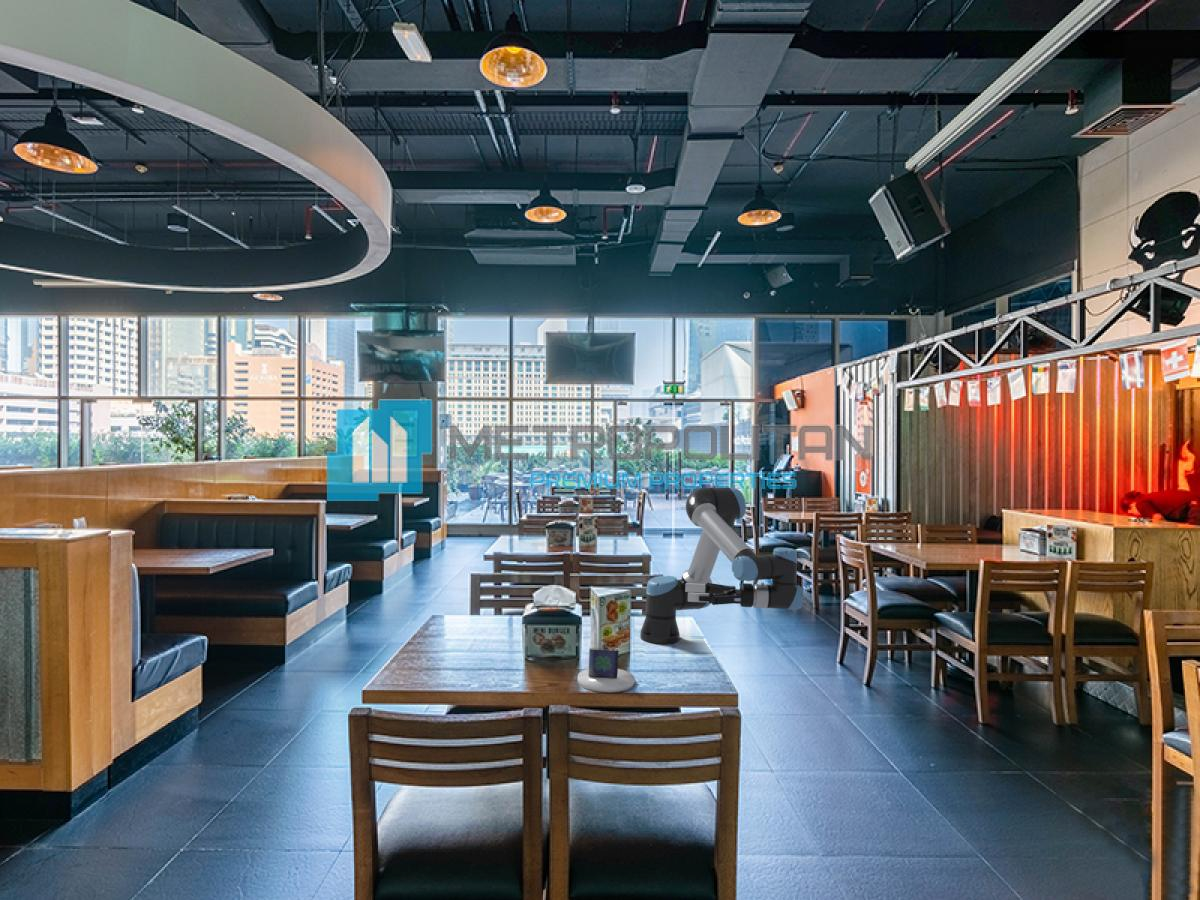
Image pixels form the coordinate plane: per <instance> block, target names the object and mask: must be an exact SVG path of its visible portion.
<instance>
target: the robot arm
mask: <svg viewBox="0 0 1200 900" xmlns="http://www.w3.org/2000/svg"><path fill="white" fill-rule="evenodd" d="M746 510H747V503H746V499H745V496H744V494H743V493H742V491H741V490H739V489H738V488H736V487H730V486H726V487H706V486H705V487H699V488H697V489H695V490H693V491H692V492H690V494H689V495H688V496H687V498H686V501H685V512H686V514H687V517H688V519H689V520H690V521H691V522H692V524H693V525H694V526H695V527H698V528H699V527H700V528H701V533H700V536H699V540H698V543H697V545H696V548H695V551H694V553H693V556H692V559H691V563H690V566H689V567H688V569H686V570H684V571H683V573H682V576H681V579H677V577H675V576H672V575H660V576H655V577H652V578H650V579H649V580H648V581H647V585H646V591H645V593H646V595H645V596H646V599H645V618H644V621H643V623H642V626H641V629H640V632H639V633H640V635H639V637H640V639H641V640H643V641H644V642H648V643H651V644H657V645H658V644H659V645H660V644H661V645H667V644H668V645H669V644H675V643H677V642H679V641H680V639H681V636H680V634H681V633H680V630H679V626H678V622H677V619H676V618H677V611H685V610H686V611H688V610H689V611H690V610H701V609H705V608H707V607H709V606H710V604H711V605H713V606H715V605H717V606H718V605H730V604H731V605H732V604H736V605H737V604H738V605H740V607H741V608H752V607H753V608H754V609H775V610H776V609H778V610H787V611H788V610H800V609H802V607H803V604H804V591H803V587H802V586H800V585H797V572H798V571H797V570H798V553H797V550H796V549H794V548H789V547H775V548H773V552H772V554H767V555H757V554H756V553H755V551H753V549H752V548H750V546H749V545H748V544H747V543H746V542H745V541H744V539H742V538H741V537H740V536H739V535H738V534H737V532H736V531H734V530H733V526H734V524H735V523H736V522H735V521H737V520H740V519H742V518H744V517H745V514H746V512H747V511H746ZM720 551H721V552H722V553H723V554H724V555H725V557H726V558H727V559H728V560H729V561H730V563H731V572H732V573H733V576H734V578H735V579H736V580H738V581H742V582H741V583H740V585H739V588H738V589H737V588H736V586H735V585H726V584H725V585H724V584H719V583H713V581H712V578H711V577H712V573H713V570H714V567H715V564H716V562H717V558H718V556H719V553H720ZM761 580H763V581H764V580H771V582H772V583H771V584H765V583H764V582H761V583H754V585H753V583H749V582H751V581H752V582H753V581H761ZM743 581H746V582H748V583H746V582H743Z"/></svg>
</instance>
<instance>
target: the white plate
mask: <svg viewBox="0 0 1200 900" xmlns="http://www.w3.org/2000/svg"><path fill="white" fill-rule="evenodd" d="M588 672H589V668H587V669H584V670H581V671H580V672H579V673H578V674H577V683H578V685H579V686H580V687H582V688H584V689H586V690H589V691H593V692H598V693H618V692H619V693H621V692H624V691H628V690H630V689H631V688H633V687H634V685H635V675H633V674H632V673H631V672H629V671H627V670H626V669H625V670H624V669H622V668H618V674H617V678H615V679H613V678H596V677H595V678H593V677H589V675H588Z"/></svg>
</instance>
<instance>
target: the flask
mask: <svg viewBox="0 0 1200 900" xmlns="http://www.w3.org/2000/svg"><path fill="white" fill-rule="evenodd" d="M606 644H607V642H602V643H601V647H590V648H588V649H589V651H588V653H589V655H588V669H589V672H588V675H589V677H593V678H595V677H596V678H613V679H615V678H617V674H618V669H619V668H618V666H619V650H618V648H614V647H609V646H607V645H606Z"/></svg>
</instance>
